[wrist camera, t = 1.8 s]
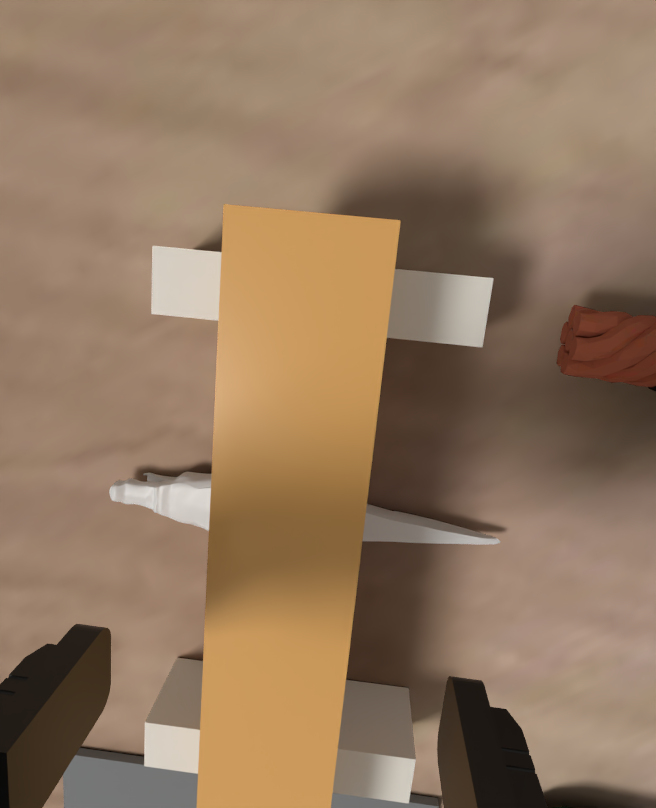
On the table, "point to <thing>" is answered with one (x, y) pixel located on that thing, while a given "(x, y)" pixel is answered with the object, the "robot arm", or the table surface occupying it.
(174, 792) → the mat
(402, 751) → the rails
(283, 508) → the bar
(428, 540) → the white tapered spike
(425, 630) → the table surface
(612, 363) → the cable
